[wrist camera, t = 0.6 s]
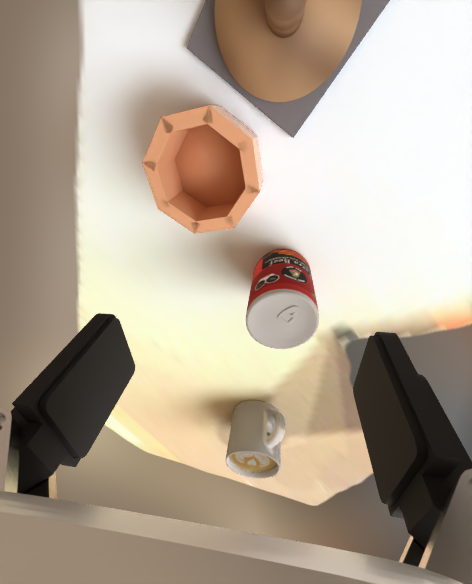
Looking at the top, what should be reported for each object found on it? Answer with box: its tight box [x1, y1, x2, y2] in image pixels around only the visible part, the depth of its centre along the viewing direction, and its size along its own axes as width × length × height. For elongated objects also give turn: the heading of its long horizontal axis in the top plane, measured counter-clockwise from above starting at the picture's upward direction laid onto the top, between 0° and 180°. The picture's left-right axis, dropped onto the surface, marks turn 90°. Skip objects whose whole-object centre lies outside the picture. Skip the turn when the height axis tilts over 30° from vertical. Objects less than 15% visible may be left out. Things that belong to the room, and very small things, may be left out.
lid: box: [215, 0, 362, 102], centre depth 21 cm, size 12×12×6 cm
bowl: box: [142, 105, 263, 234], centre depth 29 cm, size 11×11×6 cm
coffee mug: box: [226, 400, 285, 479], centre depth 52 cm, size 13×10×10 cm
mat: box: [187, 0, 390, 138], centre depth 23 cm, size 13×13×1 cm
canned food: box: [246, 249, 319, 349], centre depth 33 cm, size 8×8×11 cm
